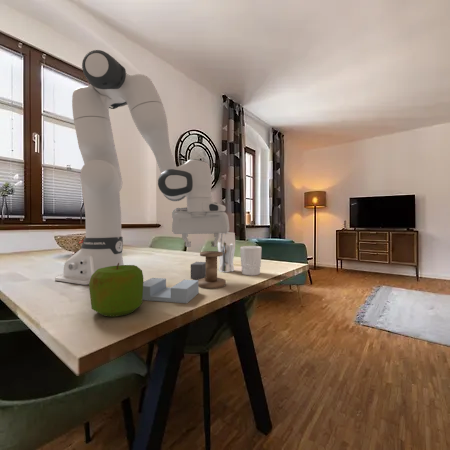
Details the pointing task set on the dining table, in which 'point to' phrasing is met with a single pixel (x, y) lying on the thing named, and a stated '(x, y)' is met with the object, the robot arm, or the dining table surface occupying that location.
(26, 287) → the dining table surface
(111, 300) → the apple
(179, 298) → the notch board
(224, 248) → the beer glass
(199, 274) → the tab
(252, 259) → the white cup
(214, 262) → the bobbin
